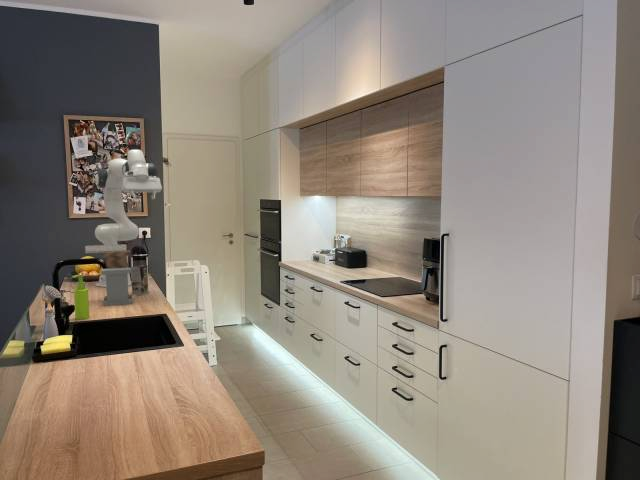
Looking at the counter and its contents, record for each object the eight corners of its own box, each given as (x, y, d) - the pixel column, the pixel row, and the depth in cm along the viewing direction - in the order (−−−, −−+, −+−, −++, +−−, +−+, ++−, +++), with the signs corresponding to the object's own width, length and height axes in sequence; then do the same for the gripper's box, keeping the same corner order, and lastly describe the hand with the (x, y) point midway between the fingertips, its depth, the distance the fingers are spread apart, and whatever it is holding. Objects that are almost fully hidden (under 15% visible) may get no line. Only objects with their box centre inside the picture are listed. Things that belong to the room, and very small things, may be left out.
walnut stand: (104, 301, 265) (101, 253, 263) (104, 298, 272) (102, 251, 270) (132, 299, 270) (130, 251, 268) (132, 297, 277) (130, 250, 275)
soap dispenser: (70, 318, 228) (68, 275, 226) (83, 315, 234) (81, 273, 232) (78, 320, 225) (76, 276, 224) (92, 317, 231) (90, 274, 230)
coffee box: (143, 295, 282) (142, 266, 281) (131, 295, 283) (130, 266, 281) (148, 292, 291) (147, 264, 290) (137, 292, 292) (136, 264, 290)
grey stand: (102, 306, 255) (101, 271, 253) (103, 302, 262) (102, 268, 261) (132, 303, 260) (130, 269, 258) (132, 300, 267) (130, 267, 265)
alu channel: (85, 253, 262) (85, 246, 262) (86, 252, 266) (85, 245, 265) (126, 251, 269) (126, 245, 268) (126, 250, 272) (126, 244, 272)
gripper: (157, 179, 277) (162, 201, 273) (119, 178, 265) (123, 201, 261) (160, 173, 273) (165, 195, 268) (121, 172, 260) (126, 195, 256)
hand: (144, 198), depth 264 cm, fingers open, 8 cm apart
